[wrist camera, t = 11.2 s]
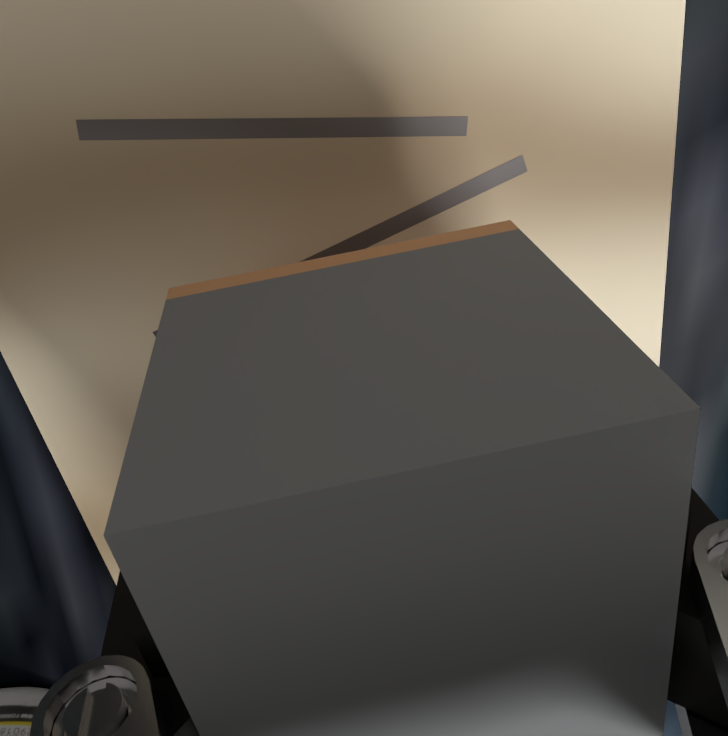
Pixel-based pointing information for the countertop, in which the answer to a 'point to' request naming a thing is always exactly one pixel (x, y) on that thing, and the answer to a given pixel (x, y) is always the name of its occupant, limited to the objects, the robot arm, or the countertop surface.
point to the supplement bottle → (18, 709)
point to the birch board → (305, 167)
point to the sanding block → (407, 499)
